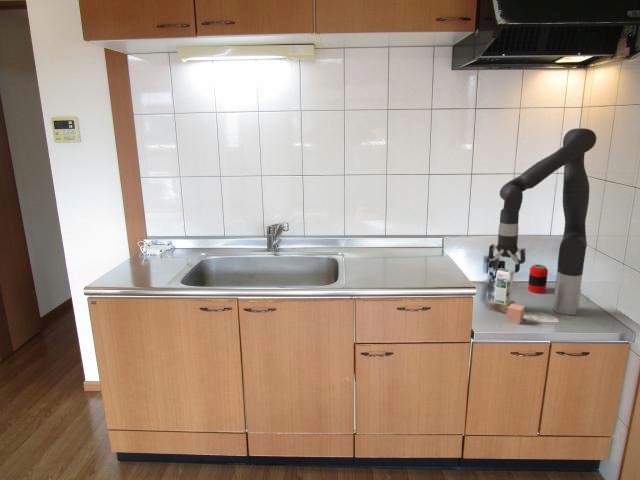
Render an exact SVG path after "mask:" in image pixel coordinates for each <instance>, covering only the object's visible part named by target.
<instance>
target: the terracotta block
mask: <svg viewBox="0 0 640 480" xmlns="http://www.w3.org/2000/svg"><path fill="white" fill-rule="evenodd" d="M524 315H525V306H524V305H522V304H521V305H520V304H516V303H515V304H511V305H510V306H509V307H508V310H507V314H506V322H510V323H514V324H516V325H520V324H521V323H522V322H523V321H524Z"/></svg>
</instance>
